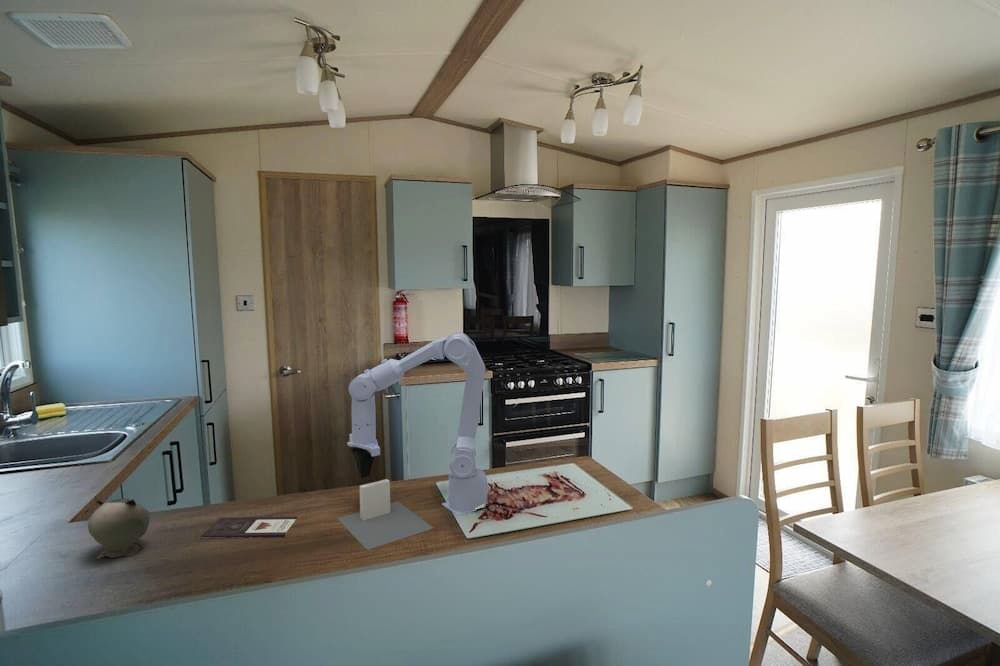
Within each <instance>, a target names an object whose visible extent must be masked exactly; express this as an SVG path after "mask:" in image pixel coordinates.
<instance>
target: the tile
mask: <svg viewBox="0 0 1000 666" xmlns="http://www.w3.org/2000/svg"><path fill="white" fill-rule="evenodd" d="M390 481H391V480H389V479H388V478H386V479H382V480H378V481H374V482H369V483H365V484H362V485H361V484H360V485H359V512H360V518H361V519H362V520H367V519H370V518H374V517H377V516H380V515H384V514H387V513H390V503H391V482H390Z"/></svg>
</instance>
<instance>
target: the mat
mask: <svg viewBox="0 0 1000 666" xmlns="http://www.w3.org/2000/svg"><path fill="white" fill-rule="evenodd" d="M336 520H338V521H339V523H341V525H342V526H343V527H344V528H345V529H346V530H347V531H348V532H349V533H350V534H351V535H352V536H353V537H354V538H355V539H356V540H357V541H358V542H359V544H361V545H362V547H364V549H366V551H369V550H372V549H375V548H379V547H381V546H385V545H386V544H391V543H393V542H397V541H400V540H402V539H406V538H409V537H411V536H415V535H418V534H421V533H423V532H427V531H430V530H432V529H434V527H433V526H431V525H430V524H429V523H427V521H425V520H424V519H422V518H421V517H419V516H418V515H417V514H415V512H414V511H412V510H410V508H408V507H407V506H405V505H404V504H402V503H401V502H400V501H394V502H390V513H387V514H384V515H380V516H377V517H374V518H370V519H367V520H362V519H361V518H360V511H359V512H355V513H351V514H347V515H343V516H340V517H337V518H336Z"/></svg>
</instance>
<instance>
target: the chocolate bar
mask: <svg viewBox="0 0 1000 666" xmlns="http://www.w3.org/2000/svg"><path fill="white" fill-rule="evenodd" d="M297 519H298V516H257V517H256V516H250V517H249V516H248V517H246V516H244V517H243V516H241V517H220V518H219V519H218V520H216V522H215V523H214V524H213V525H212V526H211V527H210V528H208V529H207V530H206V531H205V532H204V533H203V534H202V535H201V536H200V538H201V537H227V538H226V539H232V538H231V537H236V538H235V539H239V538H238V537H244V538H243V539H250V538H249V537H252V538H251V539H257V538H258V537H261V539H263V538H264V539H268V538H271V539H272V538H285V536H286V533H287V532H288V530H289V529H290V528H291V526H292V525H293V524H294V523H295V522H296V520H297ZM258 539H259V538H258Z"/></svg>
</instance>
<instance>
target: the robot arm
mask: <svg viewBox="0 0 1000 666" xmlns="http://www.w3.org/2000/svg"><path fill="white" fill-rule="evenodd" d="M445 357H446V358H447V359H448V360H449V361H451V362H452V363H454V364H456V365H458V367H459V368H461V369H460V370H462V371H463V372H464V373H465V374H466V376H465V385H464V390H463V398H462V404H461V410H460V417H459V424H458V431H457V438H456V441H455V444H454V445H453V447H452V448H451V452H450V461H449V465H448V466H449V467H448V468H449V470H448V501H446V502H442V503H441V505H442V506H443V507H445V508H446V509H448V510H449V511H451V512H452V513H454V514H455V515H457V516H462V515H464V514H468V513H471V512H472V511H473V510H475V508H476V507H478V506H480V505H482V504H484V503H487V504H488V479H487V476H486V475H487V474H486V472H485V471H484V470H483V469H481V468H476V449H475V444H476V443H475V442H476V435H477V428H478V423H479V415H480V414H479V413H480V407H481V401H482V396H483V390H484V389H483V388H484V381H485V376H486V365H485V363H484V361H483V359H482V356H481V354H480V353H479V351H478V349H477V346H476V344H475V342H474V341H473V340H472V339H471V338H470V337H469V336H468V335H467V334H465V333H463V332H461V331H460V332H459V331H457V332H456V331H455V332H453V333H451V334H450V335H449V336H448V335H446V336H443V337H440V338H438V339H435V340H433V341H431V342H430V343H428V344H426V345H424V346H422V347H420V348H419V349H417V350H415V351H413V352H412V353H410V354H408V355H406V356H405V357H403V358H401V359H399V360H398V359H394V358H389V359H388V358H384V359H383V360H381V362H380V363H379V364H378V365H377V366H374V367H373V368H371V369H369V368H367V369H365V370H364V371H363V373H361V374H359V375H357V376H356V377H355V378H353V379H352V380H351V381H350V383H349V385H348V393H349V395H350V397H351V405H350V406H351V433H349V434H348V436H349V439H348V440H349V441H347V444H346V445H347V446H348V447H351V448H350V452H351V454H352V456H353V458H354V461H355V464H356V468H357V472H358V475H359V477H360V478H362V479H363V478H368V477H370V475H371V472H372V468H373V463H374V460H375V458H376V456H380V455H381V447H380V446H379V444H378V439H377V438H376V437H377V426H376V424H377V422H376V421H377V420H376V415H377V414H376V413H377V411H376V410H377V409H376V402H375V401H376V396H375V395H376V394H375V393H376V392H381V391H382V390H384V389H386V388H388V387H390V386H392V385H394V384H395V383H397V382H400V381H402V380H403V379H404V375H405V372H407V371H409V370H411V369H413V368H416V367H418V366H420V365H421V364H423V363H426V362H428V361H431V359H436V360H444V359H445Z"/></svg>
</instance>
